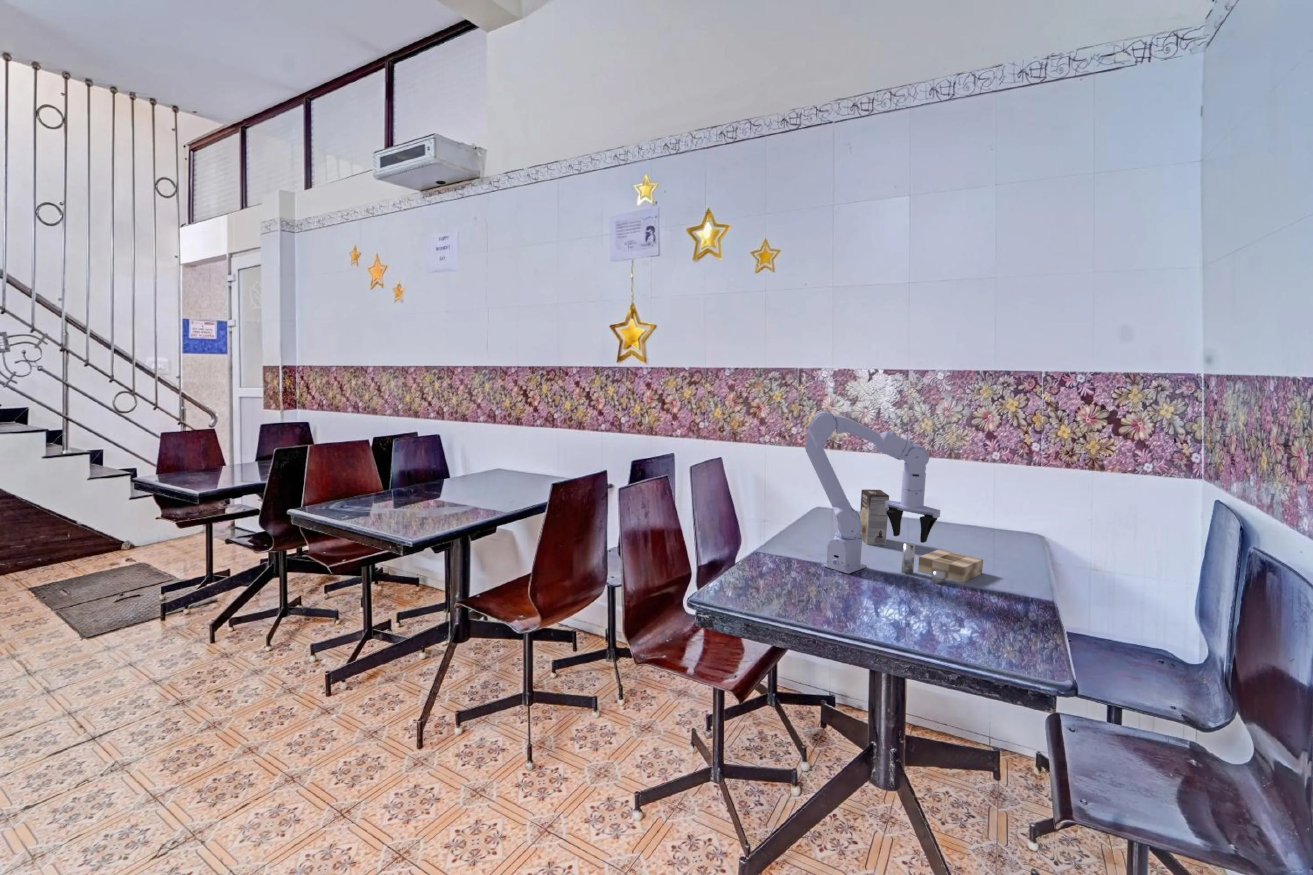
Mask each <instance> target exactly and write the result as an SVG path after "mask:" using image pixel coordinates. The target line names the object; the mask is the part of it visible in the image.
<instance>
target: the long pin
mask: <svg viewBox="0 0 1313 875" xmlns="http://www.w3.org/2000/svg"><path fill="white" fill-rule="evenodd" d="M902 544H903V546H902V555H901V556H902V558H901V559H902V561H901V573H902V574H903V573H905V574H904V575H908V574H911V575H913V574H914V567H915V554H916V552H915V551H916V544H914V543H912V542H903V543H902Z"/></svg>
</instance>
